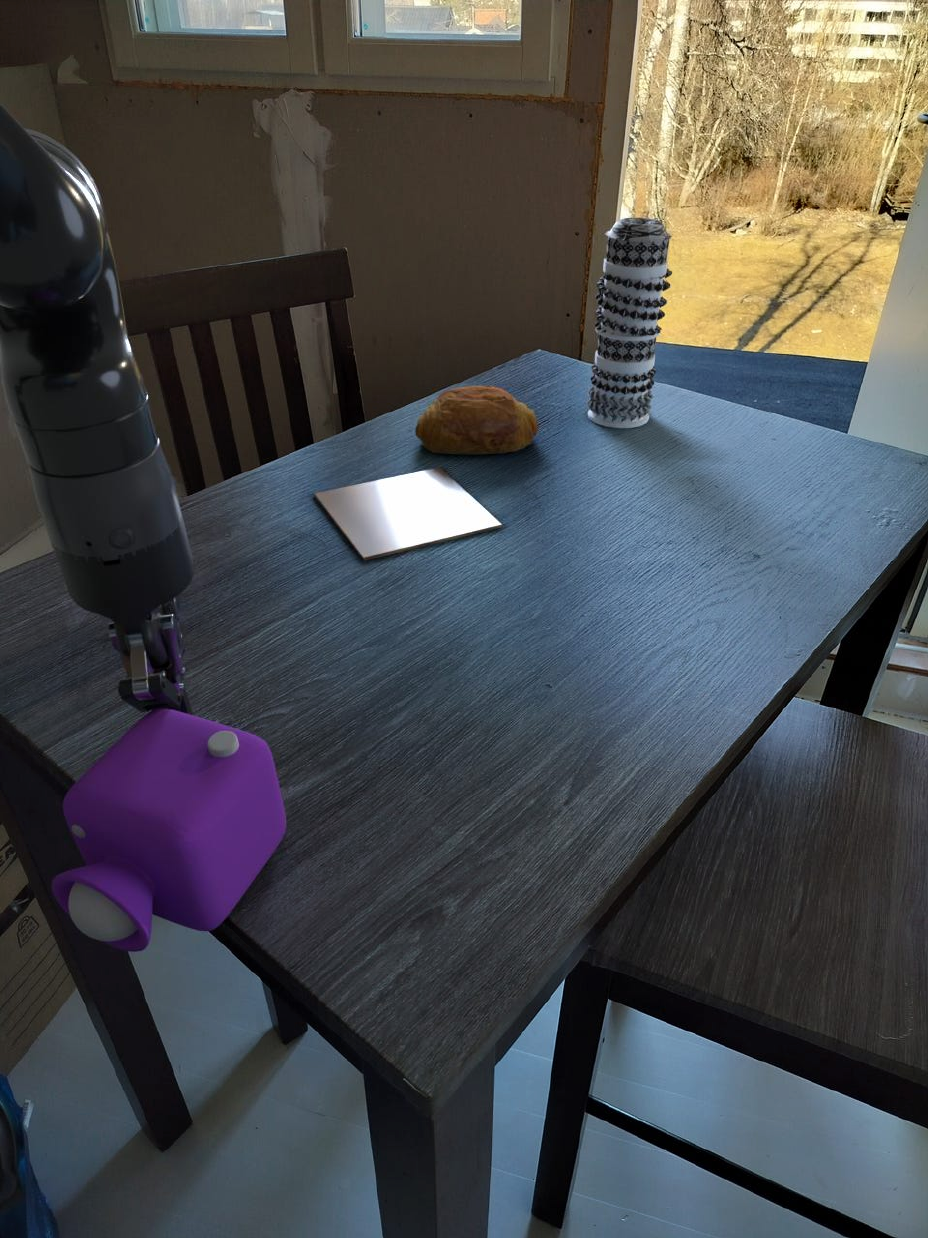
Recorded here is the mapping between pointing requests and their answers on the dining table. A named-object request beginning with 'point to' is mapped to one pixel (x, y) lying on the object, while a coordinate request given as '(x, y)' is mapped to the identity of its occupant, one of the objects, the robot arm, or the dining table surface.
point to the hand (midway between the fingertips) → (177, 727)
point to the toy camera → (169, 828)
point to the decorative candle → (628, 322)
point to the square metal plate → (405, 513)
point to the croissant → (476, 422)
